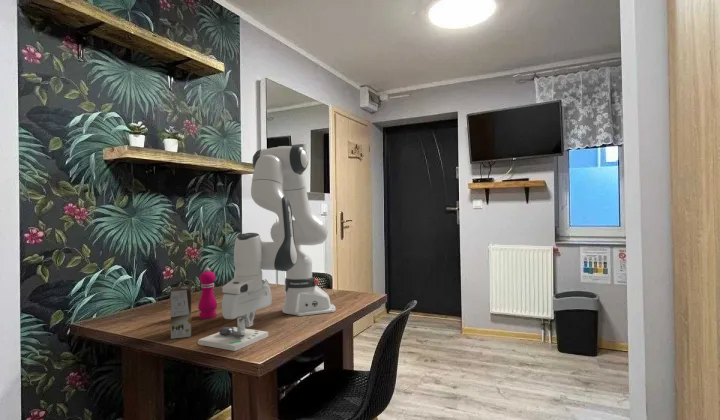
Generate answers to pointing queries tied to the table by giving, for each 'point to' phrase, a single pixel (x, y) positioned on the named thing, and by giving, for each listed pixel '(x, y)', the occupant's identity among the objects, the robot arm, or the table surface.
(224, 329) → the crank
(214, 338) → the dial plate
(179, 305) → the coffee box
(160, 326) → the table surface
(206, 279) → the pepper mill
